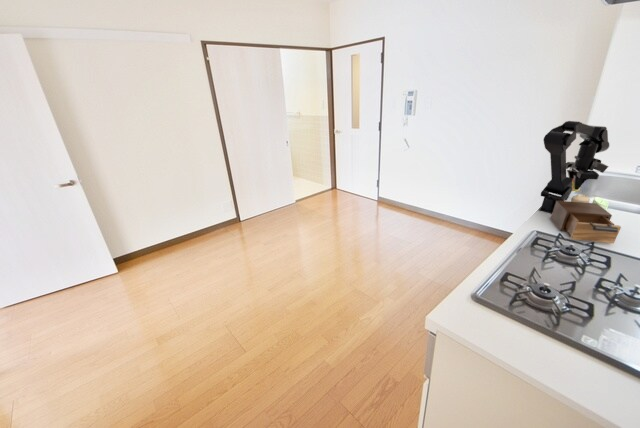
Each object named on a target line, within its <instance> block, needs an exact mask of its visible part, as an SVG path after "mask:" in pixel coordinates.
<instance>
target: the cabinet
mask: <svg viewBox="0 0 640 428" xmlns="http://www.w3.org/2000/svg"><path fill="white" fill-rule="evenodd" d="M569 214H580V215H592V216H605V217H606V218H608V219H609V220H610V221H611V219H612V216H613V215H612V214H611V213H610V212H608V211H607V210H605V209H603V208H602V207H601V206H600V205H598V204H597V203H592V202H589V203H583V202H571V201H569V200H565V201H556V204H555V207H554V210H553V213H551V216H550V221H552V223H553V224H554V225H555V226H556V227H557V228H558V230H559V231H560V232H566V233H569V232H568V231H567V230H566V229H565V228H564V226H565V223H566V221H567V218H568V215H569Z"/></svg>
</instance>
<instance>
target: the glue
mask: <svg viewBox="0 0 640 428" xmlns="http://www.w3.org/2000/svg"><path fill="white" fill-rule="evenodd" d="M572 184H573V185H572V192H580V190H581V187H580V188H579V189H578V190H576V189H575V187H574V178H573V180H572Z"/></svg>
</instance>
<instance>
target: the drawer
mask: <svg viewBox="0 0 640 428" xmlns="http://www.w3.org/2000/svg"><path fill="white" fill-rule="evenodd" d="M564 228H565V229H566V230H567V231H568V232H567V231H566V232H567V233H568V234H569V235H570V237H569V238H570V239H571V240H577V241H585V242H586V241H587V242H597V243H606V244H615V243H616V239H617V238H618V235H619V233H620V230H621V229H622V226H621V225H617V224H615V223H614V222H613V221H611V219H610V220H609V219H608V218H606V217H605V216H592V215H580V214H569V215H568V218H567V221H566V223H565V226H564Z"/></svg>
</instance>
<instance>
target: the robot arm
mask: <svg viewBox="0 0 640 428" xmlns="http://www.w3.org/2000/svg"><path fill="white" fill-rule="evenodd" d="M608 132H609V131H608V127H606V126H602V125H590V124H586V123H583V122H581V121H577V120H576V121H575V120H568V121H565V122H563V123H562V124H560V125H558V126H556V127H554V128H552V129H551V130H549V132H548V133H546V134H545V135H544V137H543V145H544V149H545V150H546V151H547V152H548V153H549V156H550V157H549V158H550V175H551V176H550V177H551V179H550V180H549V181H548V182H547V184H546V185H545V187H544V188H543V189H542V190H541V192H540V197H543V200H542V203H541V206H540V208H539V209H538V210H539V211H541V212H546V213H550V214H552V213H553V210H554V207H555V204H556V201H568V199H569V198H570V195H571V193H572V192H573V191H572V185H573V184H572V180H573V178H574V187H575V189H576V190H578V189H579V188H580V189H581V187H582V186H583V184H584V183H585V182H586V181H587V180H598V179H599V176H600V174H599V173H598V172H600V173H602V174H604V173H605V171H606V170H607V169H608V168H609V166H608V165H607V164H605V163H602V160H601V159H599V158H595V156H596V154H599V153H603V152H606V151H607V150H608V149H609V148H610V146H611V145H610V142H609V133H608ZM577 135H579V136H578V137H579V138H581V139H582V140H583V141H581V142H579V144H578V146H579V149H578V152H577V155H574V160H575V161H567V150H568V149H569V148H570V147H571V145H572V143H573V142H574V141H575V140H577ZM597 171H598V172H597Z"/></svg>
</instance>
